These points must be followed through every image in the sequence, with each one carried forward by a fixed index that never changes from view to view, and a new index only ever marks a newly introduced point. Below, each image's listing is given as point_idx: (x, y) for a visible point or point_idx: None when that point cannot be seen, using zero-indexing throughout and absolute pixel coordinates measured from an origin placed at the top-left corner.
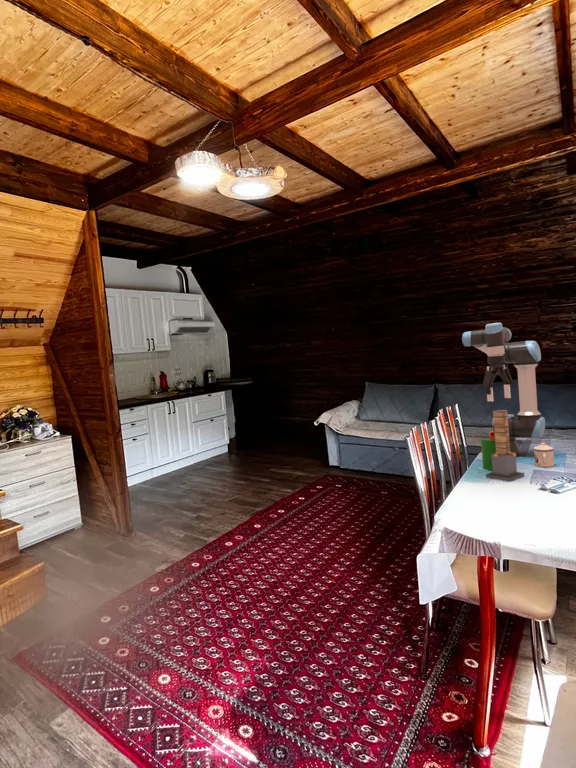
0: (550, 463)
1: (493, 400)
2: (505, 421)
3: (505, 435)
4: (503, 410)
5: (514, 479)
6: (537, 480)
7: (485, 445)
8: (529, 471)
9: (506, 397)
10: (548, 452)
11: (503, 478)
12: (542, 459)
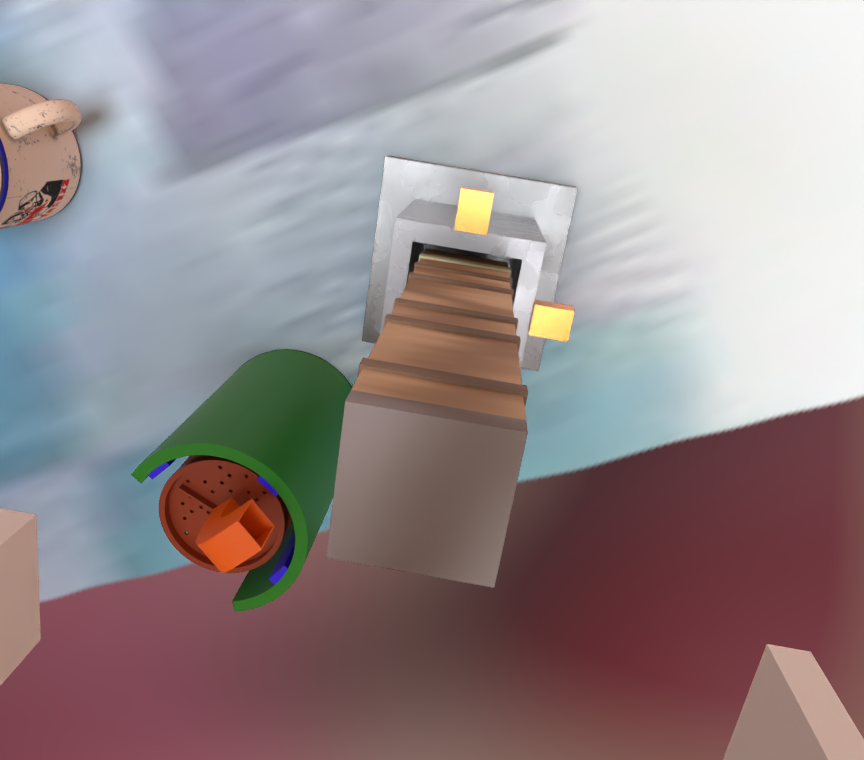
0: (25, 93)
1: (779, 658)
2: (439, 351)
3: (472, 304)
4: (392, 448)
5: (512, 176)
6: (451, 28)
7: (319, 523)
8: (241, 179)
9: (30, 606)
10: None
11: (566, 233)
12: (44, 143)
